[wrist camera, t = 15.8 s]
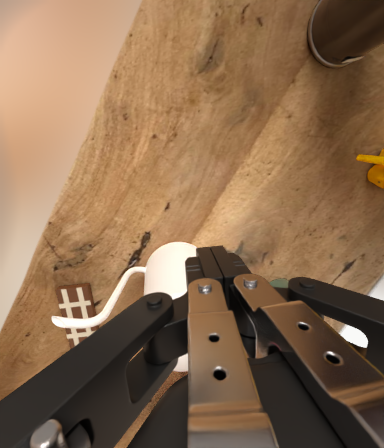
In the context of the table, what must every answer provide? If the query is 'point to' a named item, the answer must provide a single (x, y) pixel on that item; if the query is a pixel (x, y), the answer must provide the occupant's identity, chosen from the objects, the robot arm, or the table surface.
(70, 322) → the coffeepot
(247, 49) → the table surface
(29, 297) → the table surface
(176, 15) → the table surface
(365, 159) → the figure statuette
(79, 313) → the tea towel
